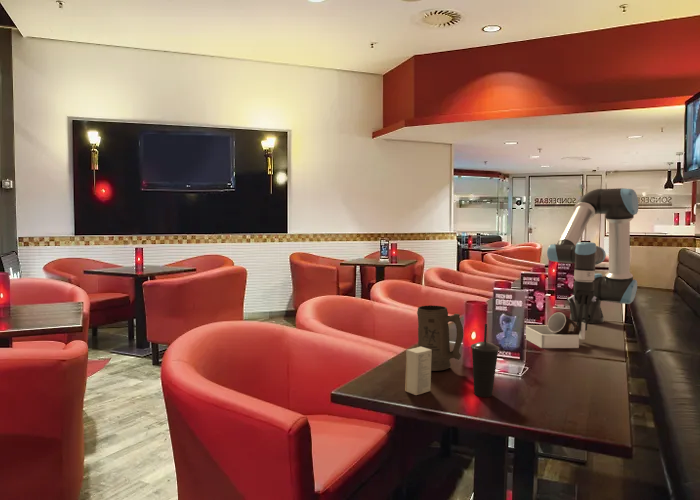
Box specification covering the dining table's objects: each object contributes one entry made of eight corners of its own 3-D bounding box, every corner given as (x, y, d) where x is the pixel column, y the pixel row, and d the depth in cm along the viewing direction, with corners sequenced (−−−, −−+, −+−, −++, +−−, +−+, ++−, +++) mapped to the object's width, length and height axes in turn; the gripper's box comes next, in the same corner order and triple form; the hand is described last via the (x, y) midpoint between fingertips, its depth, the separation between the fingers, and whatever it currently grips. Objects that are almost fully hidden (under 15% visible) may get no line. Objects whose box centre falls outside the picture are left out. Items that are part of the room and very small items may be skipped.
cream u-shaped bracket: (556, 336, 218) (556, 325, 218) (578, 347, 200) (579, 335, 200) (521, 336, 217) (522, 325, 216) (541, 348, 199) (542, 335, 199)
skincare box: (419, 387, 150) (421, 346, 150) (431, 391, 147) (432, 349, 146) (404, 391, 146) (405, 349, 146) (415, 396, 143) (416, 352, 142)
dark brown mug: (573, 318, 211) (556, 308, 207) (586, 329, 203) (569, 319, 200) (555, 340, 213) (539, 331, 210) (567, 352, 206) (551, 342, 202)
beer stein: (411, 369, 167) (413, 308, 166) (419, 361, 177) (421, 303, 176) (460, 375, 162) (462, 312, 161) (464, 366, 172) (467, 307, 171)
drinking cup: (480, 400, 140) (483, 327, 139) (463, 391, 147) (466, 322, 146) (503, 397, 143) (506, 326, 142) (485, 388, 150) (488, 320, 149)
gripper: (573, 281, 204) (570, 340, 205) (604, 282, 205) (601, 340, 207) (563, 279, 211) (561, 336, 213) (594, 279, 212) (591, 336, 214)
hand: (581, 338), depth 210 cm, fingers closed
